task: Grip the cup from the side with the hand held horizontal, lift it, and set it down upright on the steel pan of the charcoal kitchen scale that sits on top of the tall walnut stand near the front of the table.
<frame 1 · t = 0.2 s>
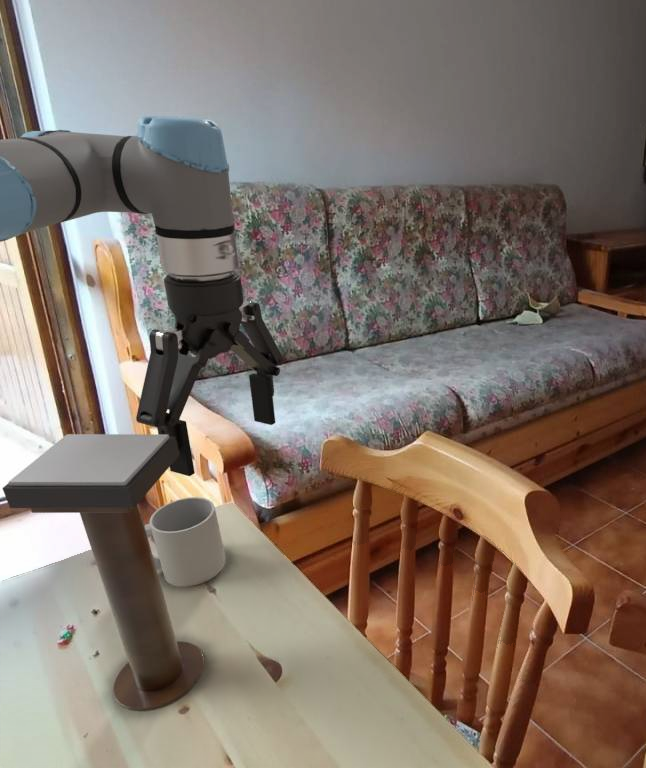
hand: (227, 445, 76), 17 cm above the table, tool pointing down, fingers open, 13 cm apart
scale: (100, 479, 55), resting on stand
stand: (161, 679, 66), on the table
cup: (185, 573, 81), on the table
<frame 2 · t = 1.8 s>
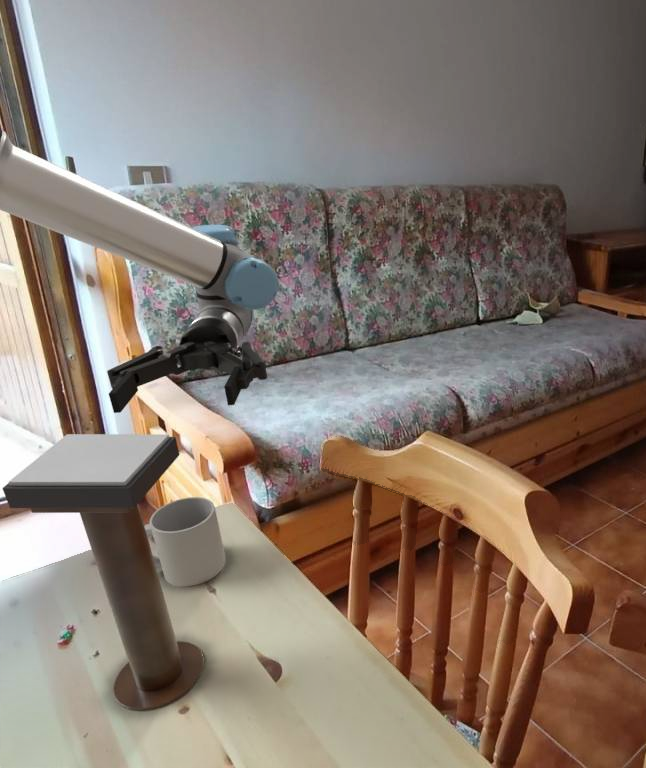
hand: (172, 399, 80), 20 cm above the table, tool horizontal, fingers open, 13 cm apart
nothing on the table moved.
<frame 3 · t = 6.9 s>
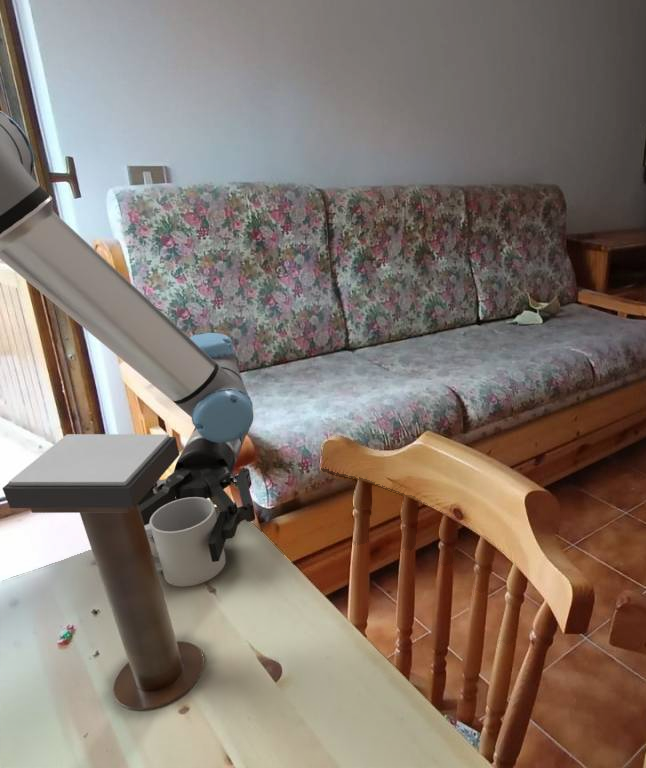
hand: (165, 557, 74), 6 cm above the table, tool horizontal, fingers closed on cup, 10 cm apart
cup: (185, 573, 81), on the table, touching gripper
when the fingers open (33 cm above the table, at t = 16.2 s): cup stays where it is, resting on scale.
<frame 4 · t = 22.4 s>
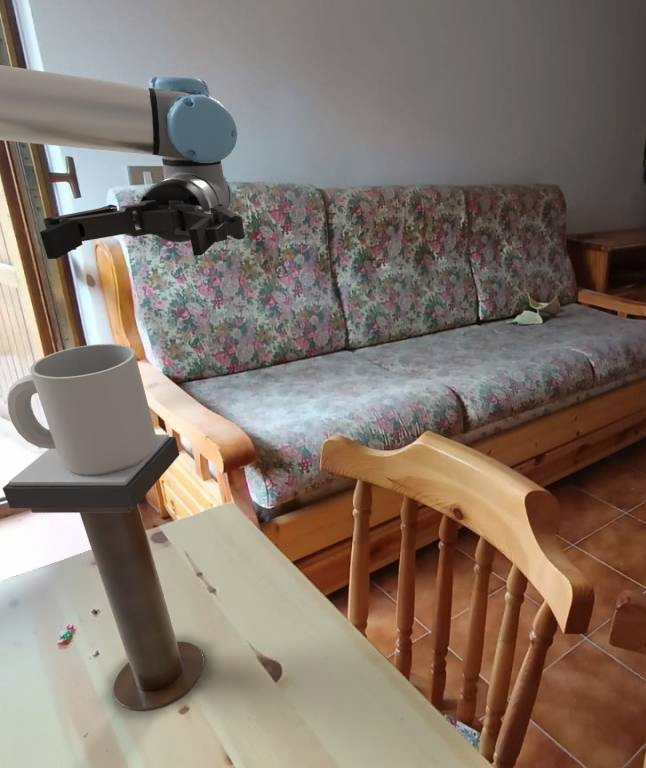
hand: (122, 244, 64), 42 cm above the table, tool horizontal, fingers open, 13 cm apart
cup: (94, 458, 54), point 27 cm above the table, touching scale
at the end: cup inside the target area on the scale (0.0 cm from its centre), point 2.2 cm above the scale's base; cup tilted 0° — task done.
